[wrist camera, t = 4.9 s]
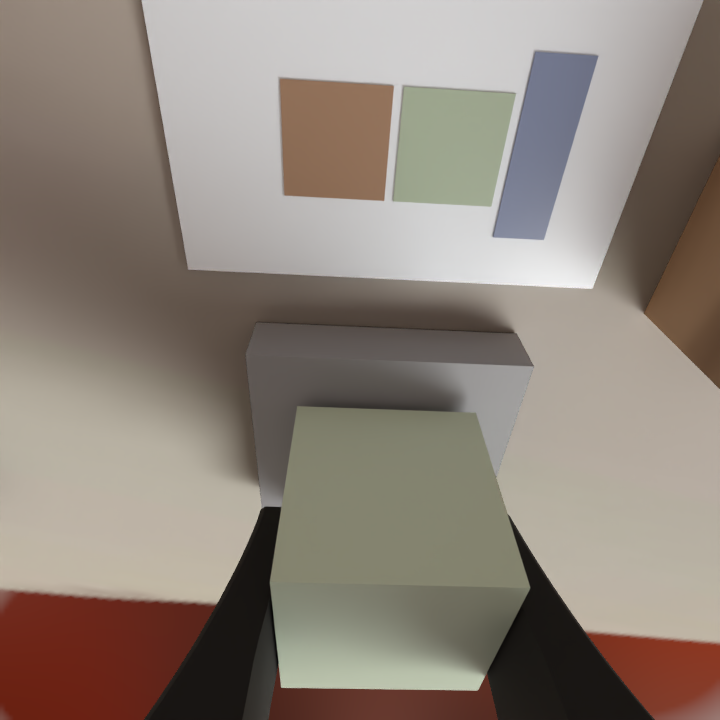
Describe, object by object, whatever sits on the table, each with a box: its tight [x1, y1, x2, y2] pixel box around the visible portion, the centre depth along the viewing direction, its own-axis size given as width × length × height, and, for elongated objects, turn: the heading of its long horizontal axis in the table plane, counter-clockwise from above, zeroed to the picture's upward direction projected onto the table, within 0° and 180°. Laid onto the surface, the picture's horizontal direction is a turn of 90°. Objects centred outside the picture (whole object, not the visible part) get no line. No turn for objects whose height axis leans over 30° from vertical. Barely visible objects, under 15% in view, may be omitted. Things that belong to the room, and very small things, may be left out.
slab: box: [245, 322, 534, 508], centre depth 14 cm, size 7×7×2 cm
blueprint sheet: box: [142, 0, 703, 289], centre depth 10 cm, size 10×6×1 cm, turn 87°
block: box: [270, 406, 530, 690], centre depth 11 cm, size 4×4×4 cm
